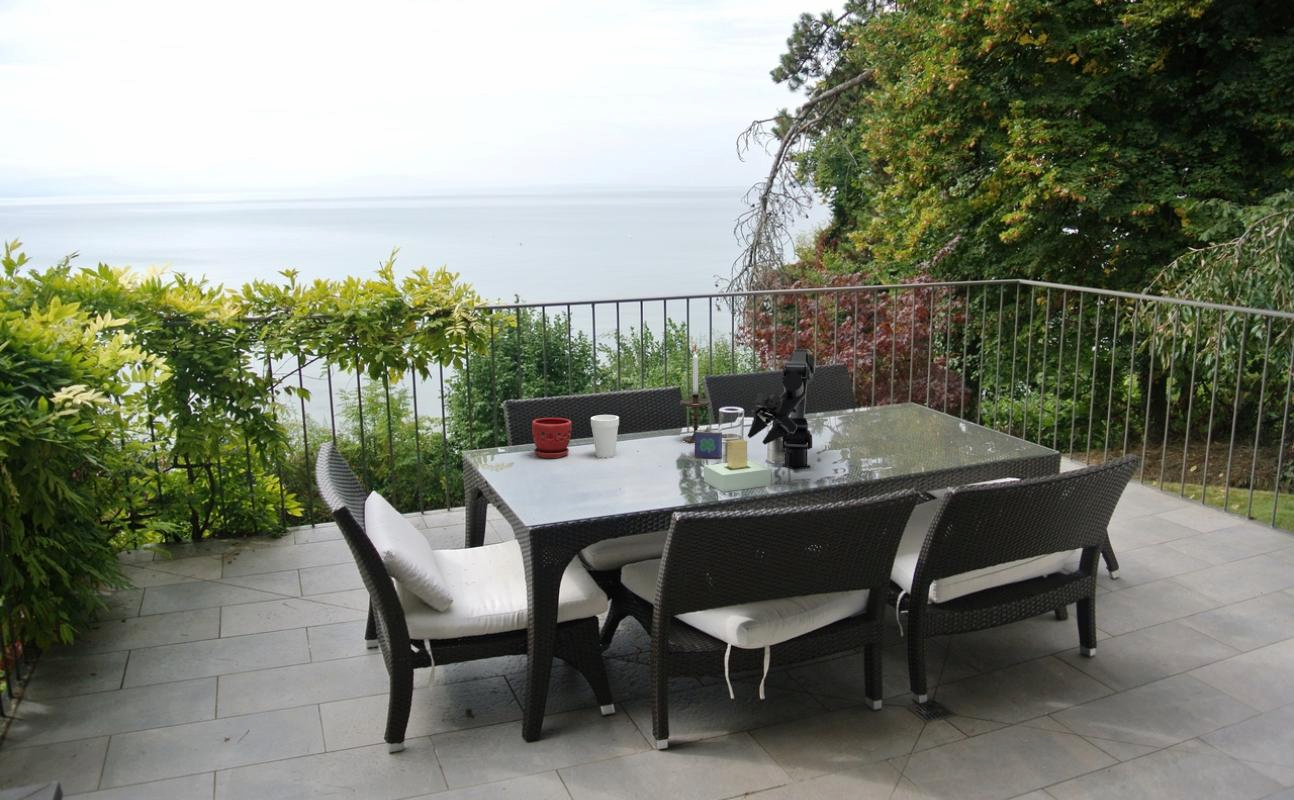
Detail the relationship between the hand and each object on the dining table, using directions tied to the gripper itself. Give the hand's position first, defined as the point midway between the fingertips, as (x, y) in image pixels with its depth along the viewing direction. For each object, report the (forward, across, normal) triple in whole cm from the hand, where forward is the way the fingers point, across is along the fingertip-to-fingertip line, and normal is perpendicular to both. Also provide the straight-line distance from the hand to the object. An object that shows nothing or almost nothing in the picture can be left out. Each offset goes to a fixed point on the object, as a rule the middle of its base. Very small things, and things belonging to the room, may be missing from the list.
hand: (756, 440), depth 284 cm
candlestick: (+5, -55, +13) cm, 57 cm away
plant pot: (+42, -57, -24) cm, 74 cm away
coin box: (+13, 0, +4) cm, 14 cm away
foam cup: (+31, -48, -13) cm, 59 cm away
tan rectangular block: (+13, 0, +4) cm, 14 cm away
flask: (+10, -31, +9) cm, 34 cm away
